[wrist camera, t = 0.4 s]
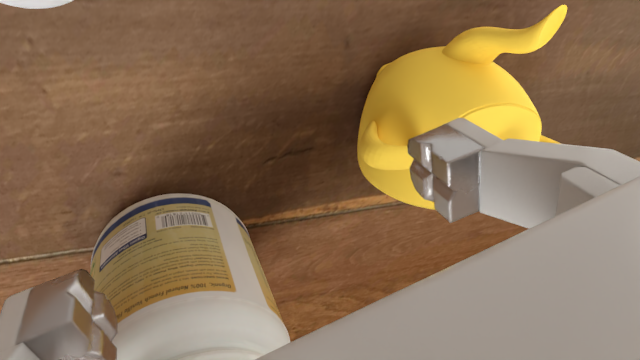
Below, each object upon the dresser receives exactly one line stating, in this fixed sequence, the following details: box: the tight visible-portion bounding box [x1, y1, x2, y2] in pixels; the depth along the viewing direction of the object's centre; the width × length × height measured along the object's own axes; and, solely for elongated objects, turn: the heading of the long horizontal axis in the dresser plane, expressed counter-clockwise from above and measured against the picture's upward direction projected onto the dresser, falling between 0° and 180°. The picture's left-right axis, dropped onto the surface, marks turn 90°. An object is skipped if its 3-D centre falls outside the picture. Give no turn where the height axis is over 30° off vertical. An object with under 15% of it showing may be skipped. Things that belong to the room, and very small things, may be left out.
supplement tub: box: [90, 193, 290, 360], centre depth 29 cm, size 12×12×17 cm
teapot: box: [357, 5, 567, 210], centre depth 32 cm, size 14×14×12 cm
